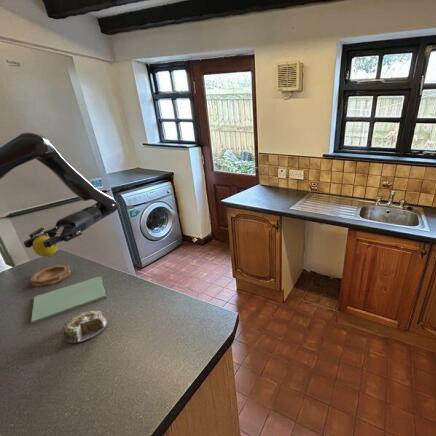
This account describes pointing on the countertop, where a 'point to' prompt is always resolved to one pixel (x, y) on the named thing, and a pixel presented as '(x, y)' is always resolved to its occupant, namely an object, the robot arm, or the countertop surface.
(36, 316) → the mat
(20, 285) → the countertop surface
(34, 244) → the lemon
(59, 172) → the robot arm
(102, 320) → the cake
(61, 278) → the holder
